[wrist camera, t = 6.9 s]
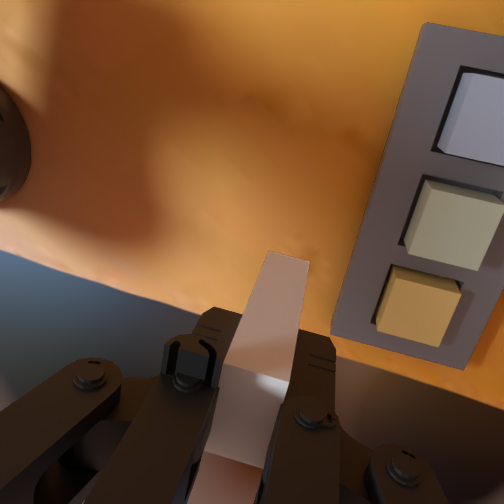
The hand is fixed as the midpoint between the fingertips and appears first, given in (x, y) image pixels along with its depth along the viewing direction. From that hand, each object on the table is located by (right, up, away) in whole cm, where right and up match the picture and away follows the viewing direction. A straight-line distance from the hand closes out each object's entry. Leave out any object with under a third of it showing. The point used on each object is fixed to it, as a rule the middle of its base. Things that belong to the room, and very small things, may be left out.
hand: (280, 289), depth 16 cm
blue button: (+18, +12, +21) cm, 31 cm away
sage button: (+17, +4, +25) cm, 30 cm away
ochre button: (+15, -3, +29) cm, 33 cm away
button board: (+17, +5, +27) cm, 32 cm away
